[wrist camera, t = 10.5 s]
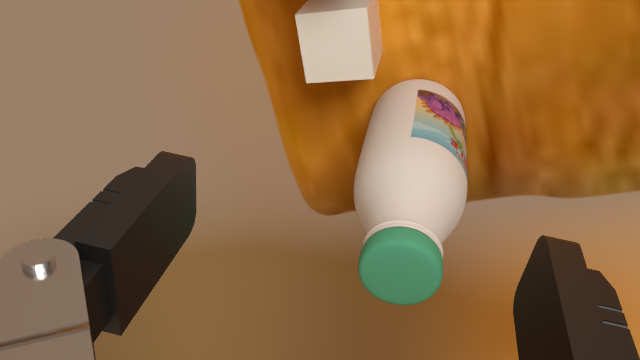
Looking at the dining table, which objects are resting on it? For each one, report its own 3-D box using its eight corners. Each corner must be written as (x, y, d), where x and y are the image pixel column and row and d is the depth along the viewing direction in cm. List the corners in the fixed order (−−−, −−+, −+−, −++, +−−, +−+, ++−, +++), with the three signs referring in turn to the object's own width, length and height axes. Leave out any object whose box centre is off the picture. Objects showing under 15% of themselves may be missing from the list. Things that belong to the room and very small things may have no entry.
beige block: (377, -13, 41) (366, 7, 36) (382, 51, 44) (374, 78, 39) (313, -6, 42) (294, 14, 37) (322, 56, 45) (306, 83, 40)
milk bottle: (387, 167, 49) (354, 335, 32) (360, 90, 46) (308, 232, 29) (474, 148, 46) (487, 320, 30) (452, 64, 43) (453, 206, 26)
